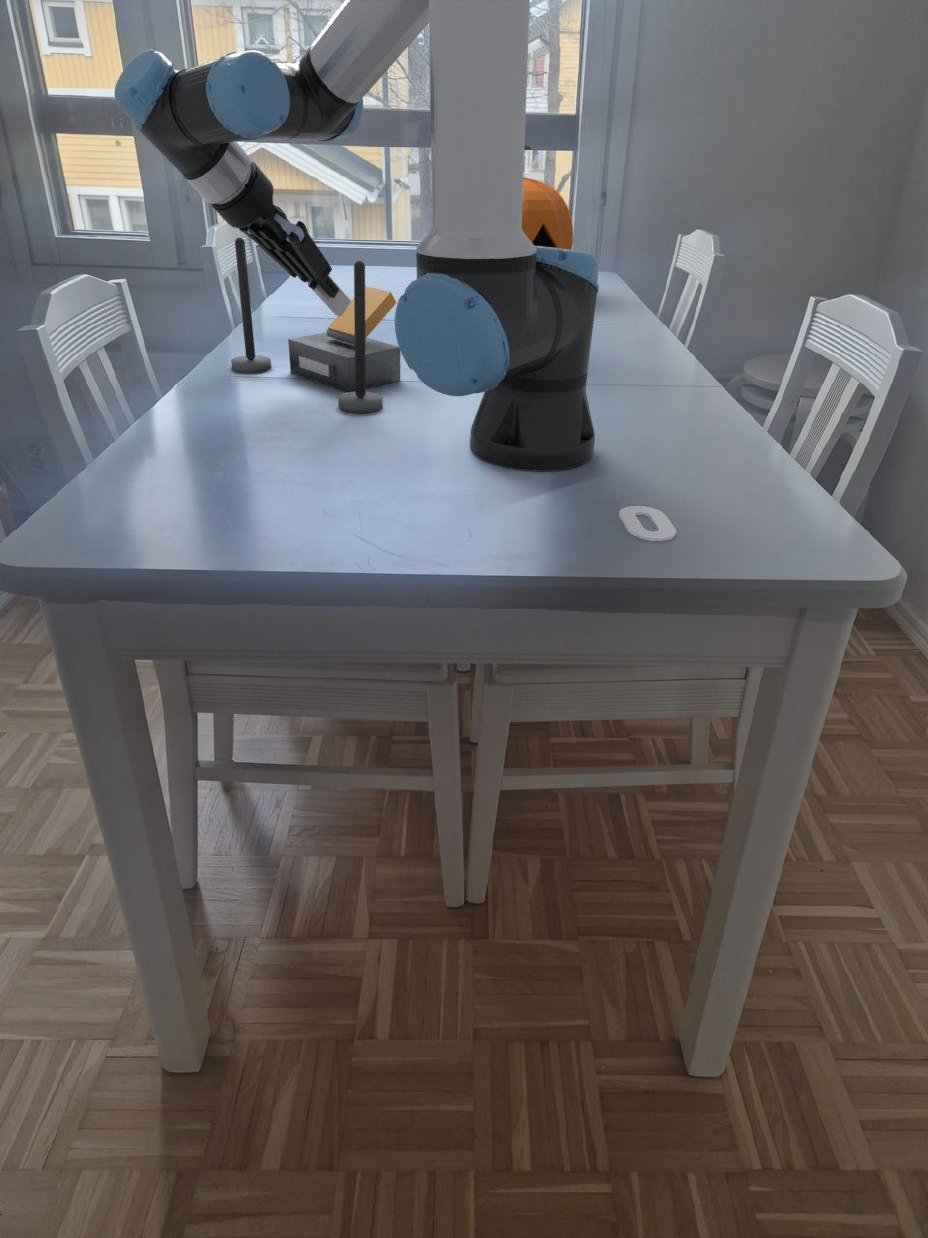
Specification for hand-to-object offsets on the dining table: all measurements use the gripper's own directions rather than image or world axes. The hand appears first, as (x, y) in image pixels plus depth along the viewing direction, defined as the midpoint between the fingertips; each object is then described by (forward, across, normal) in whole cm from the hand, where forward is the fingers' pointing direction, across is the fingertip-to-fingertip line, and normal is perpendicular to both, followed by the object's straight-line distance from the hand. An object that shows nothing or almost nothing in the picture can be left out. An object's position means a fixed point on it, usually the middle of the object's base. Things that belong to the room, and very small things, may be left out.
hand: (343, 307), depth 122 cm
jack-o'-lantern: (+59, +33, -44) cm, 81 cm away
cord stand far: (+1, +13, +13) cm, 18 cm away
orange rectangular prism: (+3, 0, +3) cm, 4 cm away
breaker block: (+7, 0, +7) cm, 10 cm away
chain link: (0, -62, +15) cm, 63 cm away
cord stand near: (+2, -13, +12) cm, 18 cm away
